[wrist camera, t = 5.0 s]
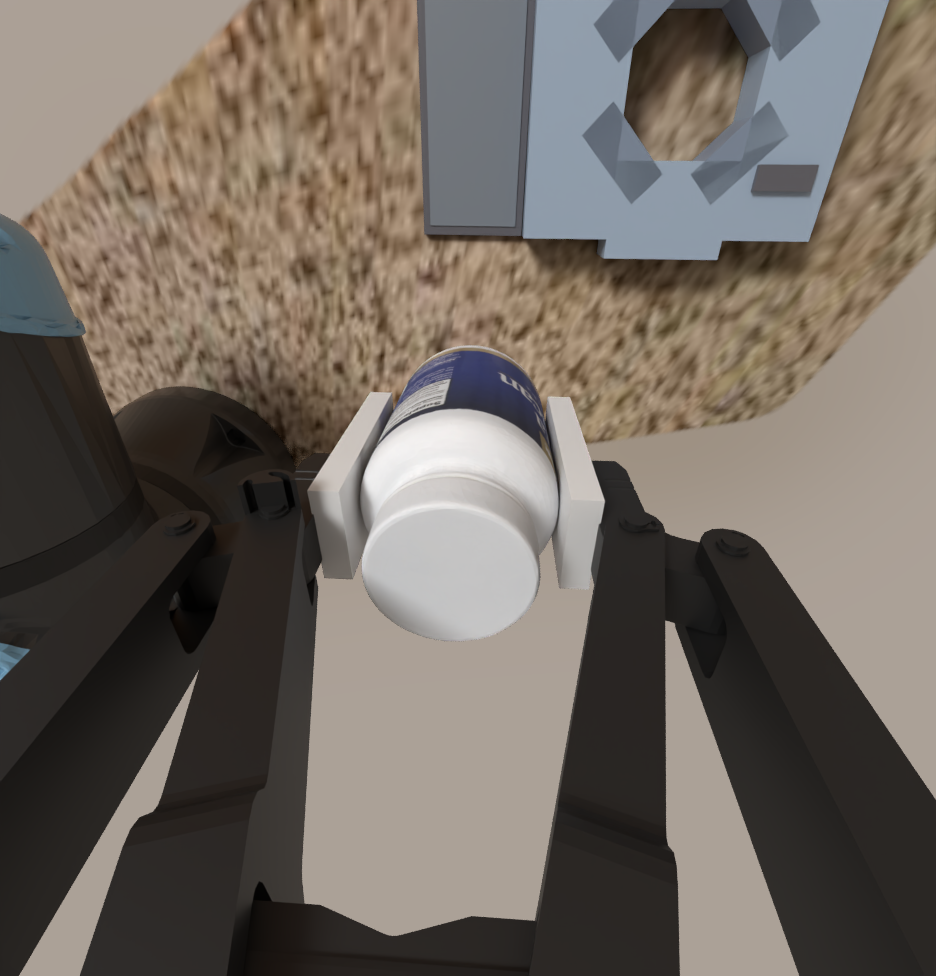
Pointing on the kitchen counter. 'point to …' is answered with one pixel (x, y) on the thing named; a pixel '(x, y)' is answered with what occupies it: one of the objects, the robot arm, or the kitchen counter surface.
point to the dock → (722, 164)
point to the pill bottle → (459, 498)
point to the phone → (474, 113)
